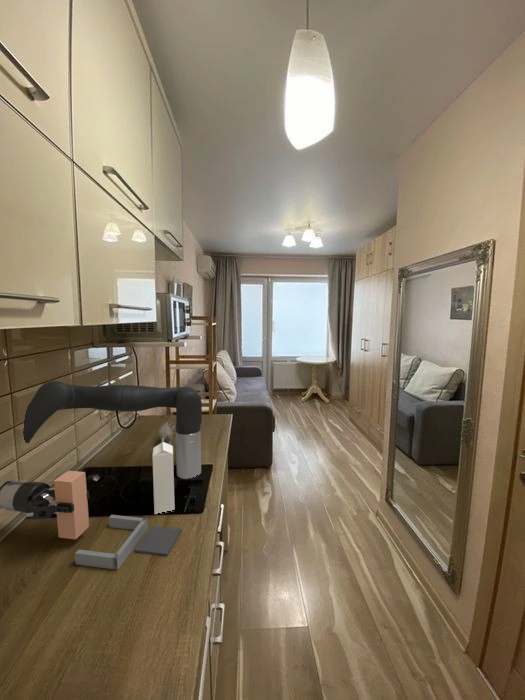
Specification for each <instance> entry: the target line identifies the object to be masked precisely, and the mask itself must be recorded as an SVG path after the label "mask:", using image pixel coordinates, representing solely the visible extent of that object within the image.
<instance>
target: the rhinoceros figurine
mask: <svg viewBox="0 0 525 700" xmlns="http://www.w3.org/2000/svg"><path fill="white" fill-rule="evenodd" d="M174 432H176V424H174V425H173V421H171V422H170V423H169V422H168V421H166V422H165V423H163V424H162V425H161V427H160V428H159V430H158V432H157V437H158V438H159V439H160V442H159V444H160V443H162V442H165V443H167V444H169V445H172V443H173V440H174V441H175V439H174V436H175V433H174Z"/></svg>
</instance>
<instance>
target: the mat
mask: <svg viewBox="0 0 525 700" xmlns="http://www.w3.org/2000/svg"><path fill="white" fill-rule="evenodd" d="M181 532H182V528H174V527H173V528H172V527H166V526H165V527H164V526H156V525H151V526H150V527H149V529H147V531H146V532H145V533H144V535H143V536H142V539H140V540H139V541H140V542H138V543H137V545H136V547H134V548H135V549H133V550H134V553H140V554H148V555H156V556H164V557H165V556H166V557H168V556H169V554H170V552H171V551H172V549H173V547H174V545H175V544H176V542H177V540H178V538H179V536H180V535H181Z"/></svg>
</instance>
